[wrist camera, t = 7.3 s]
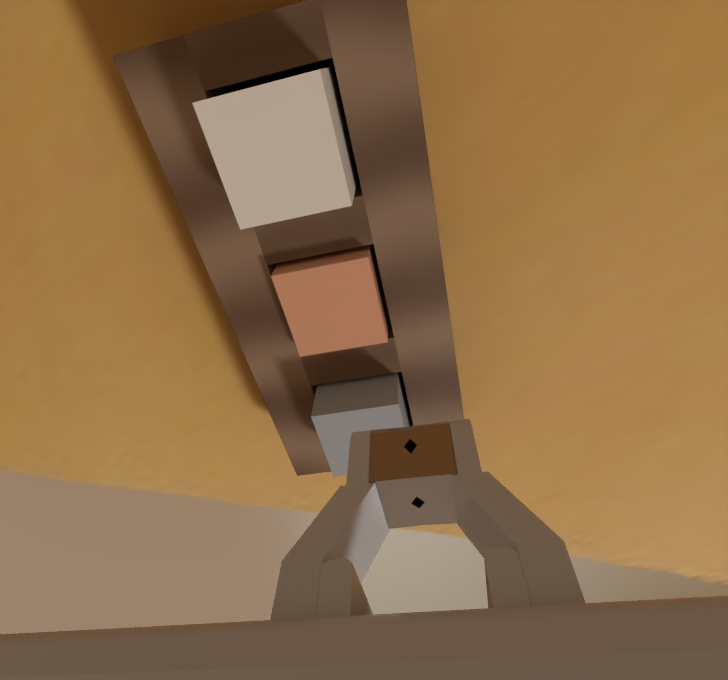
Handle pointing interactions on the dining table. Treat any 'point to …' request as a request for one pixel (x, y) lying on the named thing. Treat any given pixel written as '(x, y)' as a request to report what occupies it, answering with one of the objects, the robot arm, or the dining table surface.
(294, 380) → the key panel
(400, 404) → the slate key
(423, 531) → the dining table surface
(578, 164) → the dining table surface
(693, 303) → the dining table surface
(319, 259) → the terracotta key
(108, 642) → the robot arm
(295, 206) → the cream key
